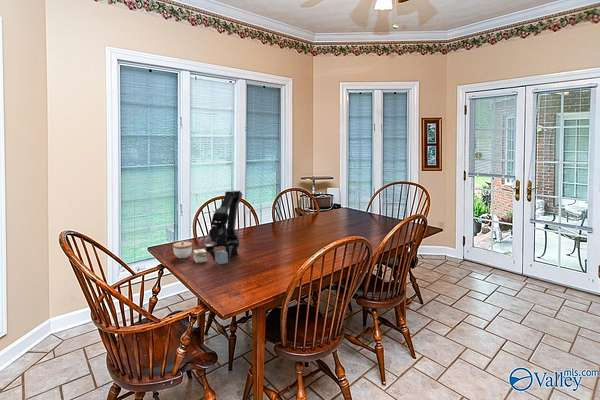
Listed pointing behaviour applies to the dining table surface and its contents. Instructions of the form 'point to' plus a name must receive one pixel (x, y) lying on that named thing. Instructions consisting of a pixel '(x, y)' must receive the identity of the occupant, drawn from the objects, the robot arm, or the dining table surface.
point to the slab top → (200, 253)
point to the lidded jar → (182, 249)
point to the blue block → (221, 257)
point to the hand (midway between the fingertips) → (221, 260)
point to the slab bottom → (200, 259)
